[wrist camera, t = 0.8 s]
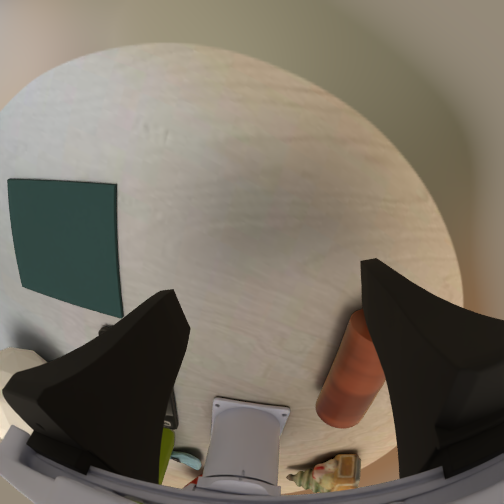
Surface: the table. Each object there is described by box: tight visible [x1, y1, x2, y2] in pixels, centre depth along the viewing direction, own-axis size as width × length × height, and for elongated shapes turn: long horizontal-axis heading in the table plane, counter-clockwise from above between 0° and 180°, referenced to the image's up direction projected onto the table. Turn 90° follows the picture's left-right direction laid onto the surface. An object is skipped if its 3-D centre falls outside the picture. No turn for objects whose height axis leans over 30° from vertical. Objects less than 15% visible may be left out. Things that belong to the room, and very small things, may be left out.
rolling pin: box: [316, 309, 386, 428], centre depth 22 cm, size 13×5×5 cm, turn 172°
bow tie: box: [170, 451, 202, 470], centre depth 33 cm, size 10×2×5 cm
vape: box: [131, 428, 175, 504], centre depth 23 cm, size 4×6×20 cm, turn 168°
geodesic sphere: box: [0, 347, 47, 442], centre depth 24 cm, size 15×14×14 cm
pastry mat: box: [7, 179, 124, 318], centre depth 22 cm, size 12×14×1 cm
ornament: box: [286, 454, 361, 493], centre depth 30 cm, size 8×6×10 cm
